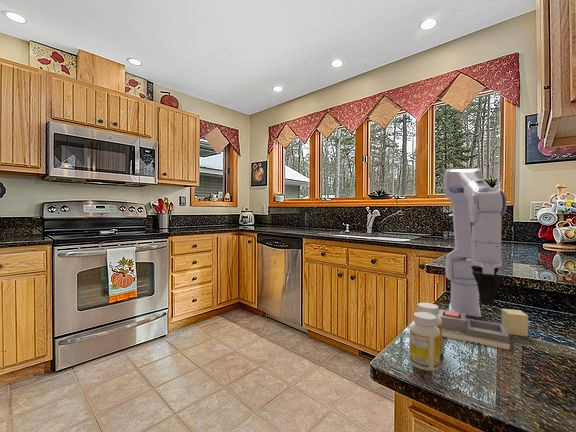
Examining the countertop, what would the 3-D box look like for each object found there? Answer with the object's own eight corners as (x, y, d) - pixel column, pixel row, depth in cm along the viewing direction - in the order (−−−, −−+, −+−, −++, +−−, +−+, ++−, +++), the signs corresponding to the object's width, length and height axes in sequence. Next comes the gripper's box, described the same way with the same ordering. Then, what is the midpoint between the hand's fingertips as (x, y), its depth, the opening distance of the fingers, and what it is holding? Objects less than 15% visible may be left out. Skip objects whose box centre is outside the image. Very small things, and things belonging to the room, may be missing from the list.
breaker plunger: (445, 322, 72) (445, 310, 72) (458, 324, 71) (458, 312, 71) (444, 326, 70) (444, 314, 70) (458, 328, 68) (458, 316, 68)
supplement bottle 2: (416, 371, 52) (417, 320, 52) (404, 357, 57) (405, 310, 57) (446, 372, 52) (446, 320, 52) (431, 357, 57) (431, 310, 57)
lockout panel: (436, 321, 76) (437, 306, 76) (503, 333, 69) (503, 317, 69) (433, 334, 68) (434, 318, 68) (509, 350, 60) (509, 331, 60)
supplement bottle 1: (445, 358, 57) (446, 310, 57) (417, 355, 58) (417, 308, 58) (437, 346, 62) (437, 302, 62) (411, 343, 63) (411, 300, 63)
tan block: (501, 327, 72) (501, 308, 72) (520, 330, 71) (520, 310, 71) (507, 334, 69) (508, 313, 69) (527, 336, 67) (528, 315, 67)
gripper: (465, 239, 75) (465, 289, 75) (466, 243, 62) (466, 304, 63) (498, 240, 71) (498, 293, 71) (506, 245, 59) (505, 310, 59)
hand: (485, 299), depth 67 cm, fingers open, 7 cm apart
